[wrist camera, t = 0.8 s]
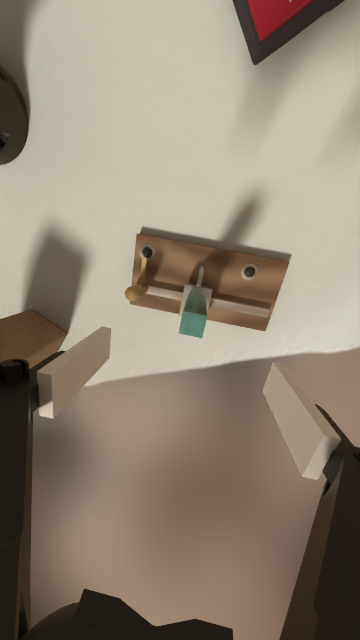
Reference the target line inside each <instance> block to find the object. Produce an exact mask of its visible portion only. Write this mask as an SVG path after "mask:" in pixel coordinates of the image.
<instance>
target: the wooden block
mask: <svg viewBox="0 0 360 640" xmlns="http://www.w3.org/2000/svg"><path fill="white" fill-rule="evenodd" d="M66 335H67V333H66V332H65V331H63V330H62V329H60V328H59V327H57V326H56V325H54V324H53V323H51V322H50V321H48V320H47V319H45V318H44V317H42V316H41V315H40V314H38V313H37V312H35V311H34V310H28V311H25V312H22V313H19V314H15V315H12V316H9V317H6V318H3V319H0V362H3V361H5V360H10V359H25V360H27V361H28V363H29V369H30V368H32V367H33V366H35V365H37V364H38V363H40V362H42V361H43V360H44V359H47V357H49V356H50V355H52V354H54V353H56V352H57V351H58V349H59V347H60V346H61V344H62V342H63V340H64V339H65V337H66Z"/></svg>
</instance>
